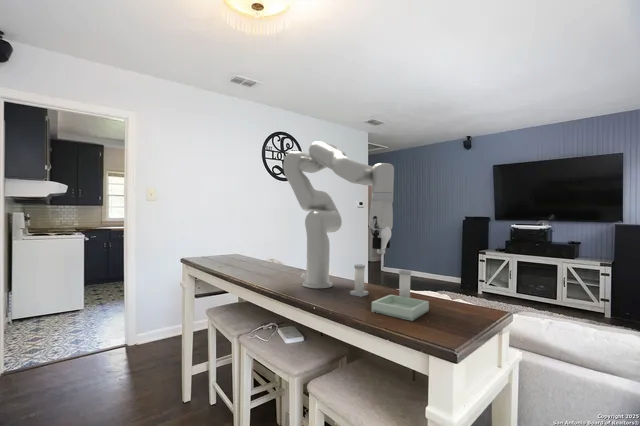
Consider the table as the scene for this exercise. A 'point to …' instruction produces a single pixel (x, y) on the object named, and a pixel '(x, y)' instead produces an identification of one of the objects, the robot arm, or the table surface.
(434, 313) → the table surface
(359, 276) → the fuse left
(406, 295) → the post
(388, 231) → the light bulb
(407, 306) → the tray
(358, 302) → the table surface
